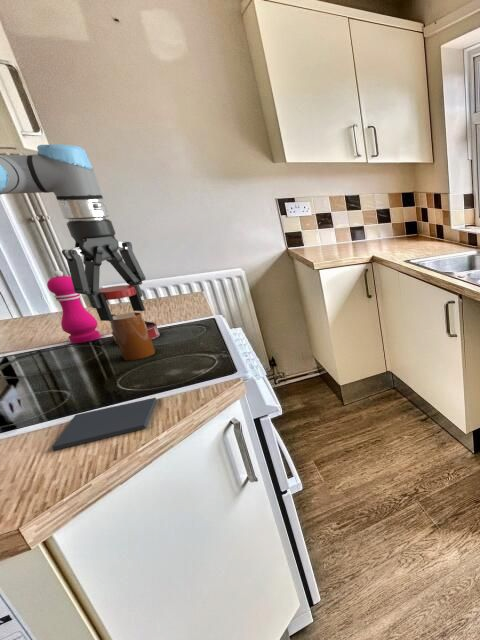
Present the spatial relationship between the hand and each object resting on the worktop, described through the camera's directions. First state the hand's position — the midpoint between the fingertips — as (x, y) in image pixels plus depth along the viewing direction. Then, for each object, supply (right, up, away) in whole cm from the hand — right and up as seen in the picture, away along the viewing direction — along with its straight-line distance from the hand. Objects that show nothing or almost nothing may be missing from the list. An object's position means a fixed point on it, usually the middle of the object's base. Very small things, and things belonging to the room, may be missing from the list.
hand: (123, 315), depth 104 cm
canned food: (-11, -6, +16) cm, 20 cm away
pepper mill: (-26, -6, +17) cm, 32 cm away
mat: (+23, -22, -27) cm, 41 cm away
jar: (0, -10, +4) cm, 11 cm away
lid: (0, +6, -2) cm, 6 cm away
